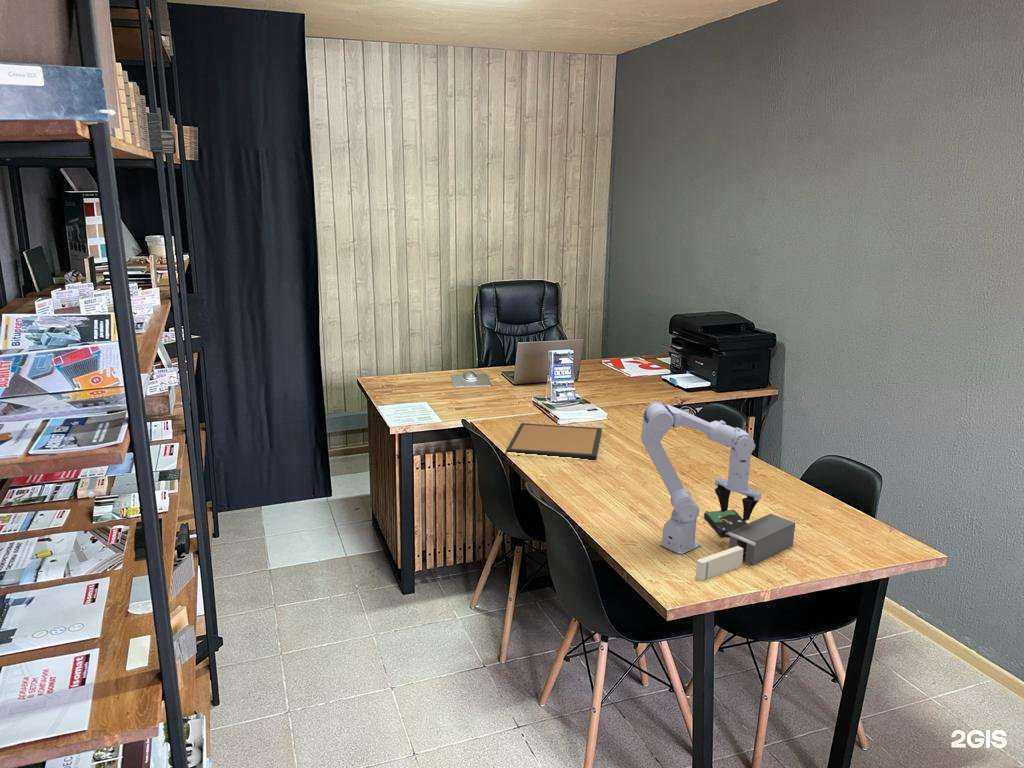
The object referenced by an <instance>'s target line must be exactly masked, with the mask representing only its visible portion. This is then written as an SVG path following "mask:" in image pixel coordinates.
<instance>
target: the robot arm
mask: <svg viewBox="0 0 1024 768" xmlns="http://www.w3.org/2000/svg"><path fill="white" fill-rule="evenodd" d="M641 415H642V427H641V434H640V435H641V436H640V437H641V438H640V440H641V443H642V445H643V447H644V449H645V451H646V452H647V454H648V456H649V457H650V459H651V461H652V463H653V465H654V467H655V469H656V471H657V472H658V474H659V476H660V478H661V480H662V482H663V484H664V485H665V487H666V489H667V492H668V493H669V496H670V504H671V506H672V507H673V510H672V511H671V515H670V518H669V519H668V520H667V521H666V522H665V523H664V524H663V527H662V542H660V543H659V545H660V546H662V547H664V548H666V549H668V550H670V551H672V552H674V553H676V554H679V555H683V554H685V553H687V552H690V551H693V550H694V549H697V548H699V547H701V546H702V543H699V542H697V541H696V534H697V533H696V531H697V518H698V517H699V515H700V507H699V505H698V504H697V503H696V502H695V500H694V499H693V497H692V495H691V493H690V492H689V491H687V490H686V489H685V487H684V484H683V483H682V481H681V479H680V478H679V475H678V473H677V471H676V470H675V468H674V466H673V464H672V462H671V460H670V458H669V457H668V454H667V453H666V451H665V449H664V446H663V445H662V443H661V442H662V439H663V438H664V436H665V435H666V434H667V433H668V432H669V431H670V430H671V428H672V427H673V429H677V428H678V427H681V426H684V427H686V428H689V429H692V430H695V431H697V432H700V433H701V432H702V433H704V434H706V438H707V439H708V440H710V441H712V442H715V443H716V444H719V445H723V446H724V447H727V448H730V452H729V453H730V454H729V463H728V474H727V479H724V478H722V477H718V478H715V479H714V487H715V486H716V488H714V493H715V494H716V496H717V499H718V503H719V505H720V506H719V507H720V510H721V512H725V511H727V510H728V509H729V507H728V506H729V502H730V501H729V499H730V495H731V492H734V493H737V494H740V495H743V496H746V497H743V498H742V499H741V501H742V509H743V513H742V518H743V520H744V521H745V522H747V521H749V520H750V518H751V516H752V512H753V511H754V508H755V507H756V506H757V504H758V502H759V501H761V500H762V492H760V491H758V490H756V489H754V488H753V487H751V486H750V485H749V479H750V470H751V469H750V468H751V459H752V457H751V456H752V453H753V451H754V450H755V449H756V444H755V440H754V439H753V437H752V436H751V435H750V434H749V433H748V432H747V431H746V430H744V429H743V428H739V426H738V427H733V426H731V425H729V424H728V425H727V423H726V422H725V421H724V420H722V419H721V420H713V421H710V422H709V421H707V420H705V419H702V418H700V417H697V416H696V415H693V414H691V413H689V412H687V411H685V410H682V409H680V408H677V407H674V406H673V405H670V404H664V403H663V402H660V401H653V402H650V403H649V404H648V405H646V408H645V410H644V411H643V413H642V414H641Z"/></svg>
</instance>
